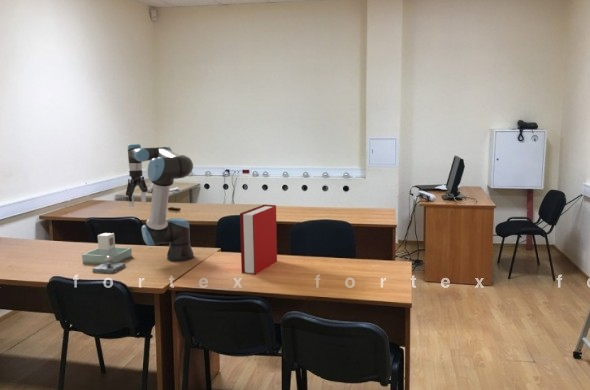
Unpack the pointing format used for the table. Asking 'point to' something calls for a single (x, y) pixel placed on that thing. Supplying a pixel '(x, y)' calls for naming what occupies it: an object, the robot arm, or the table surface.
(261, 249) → the book
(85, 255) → the bin
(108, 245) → the white grey block
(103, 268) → the stud block
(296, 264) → the table surface
